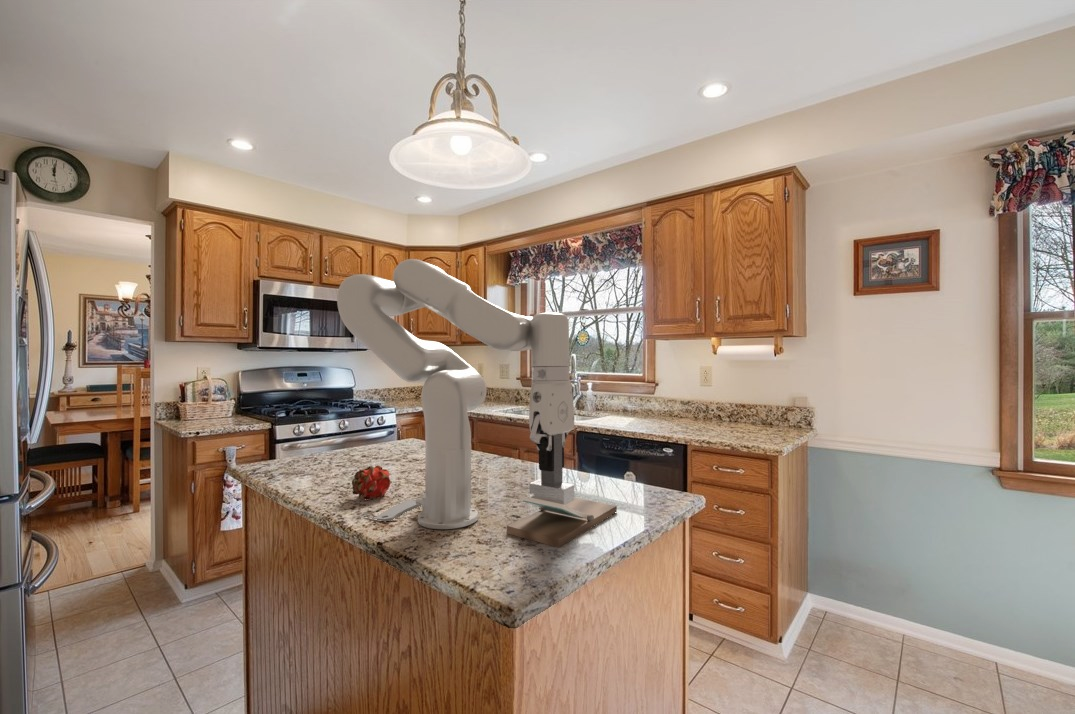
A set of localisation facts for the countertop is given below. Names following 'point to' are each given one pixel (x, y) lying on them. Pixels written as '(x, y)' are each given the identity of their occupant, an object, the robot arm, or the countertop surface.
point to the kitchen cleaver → (397, 510)
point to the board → (561, 523)
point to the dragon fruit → (371, 482)
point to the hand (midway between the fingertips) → (551, 467)
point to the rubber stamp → (553, 479)
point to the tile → (553, 507)
